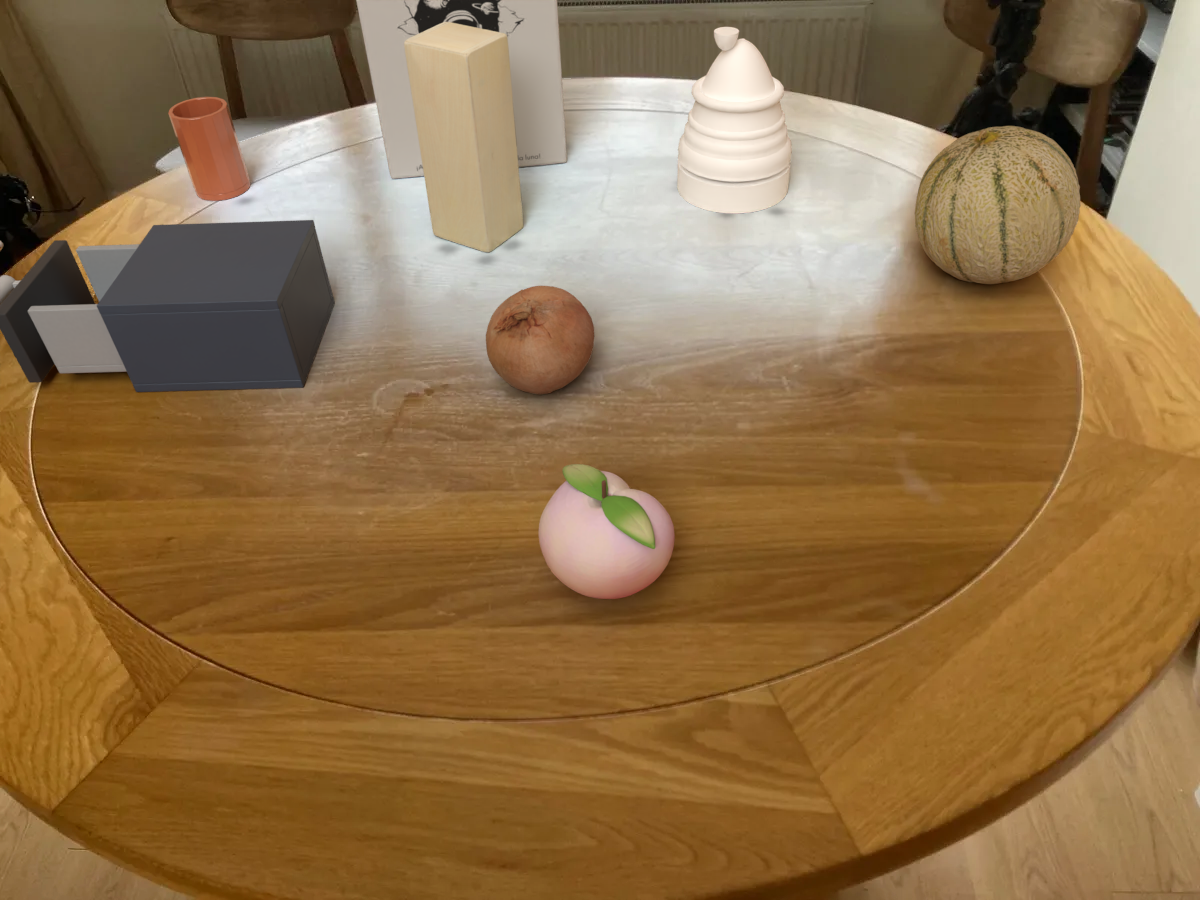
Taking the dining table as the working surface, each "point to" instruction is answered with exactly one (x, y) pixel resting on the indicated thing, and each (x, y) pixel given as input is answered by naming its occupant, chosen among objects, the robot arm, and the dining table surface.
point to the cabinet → (220, 306)
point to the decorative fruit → (604, 534)
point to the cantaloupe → (997, 205)
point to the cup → (210, 148)
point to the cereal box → (530, 20)
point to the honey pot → (735, 134)
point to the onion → (540, 339)
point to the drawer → (62, 311)
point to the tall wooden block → (466, 133)
